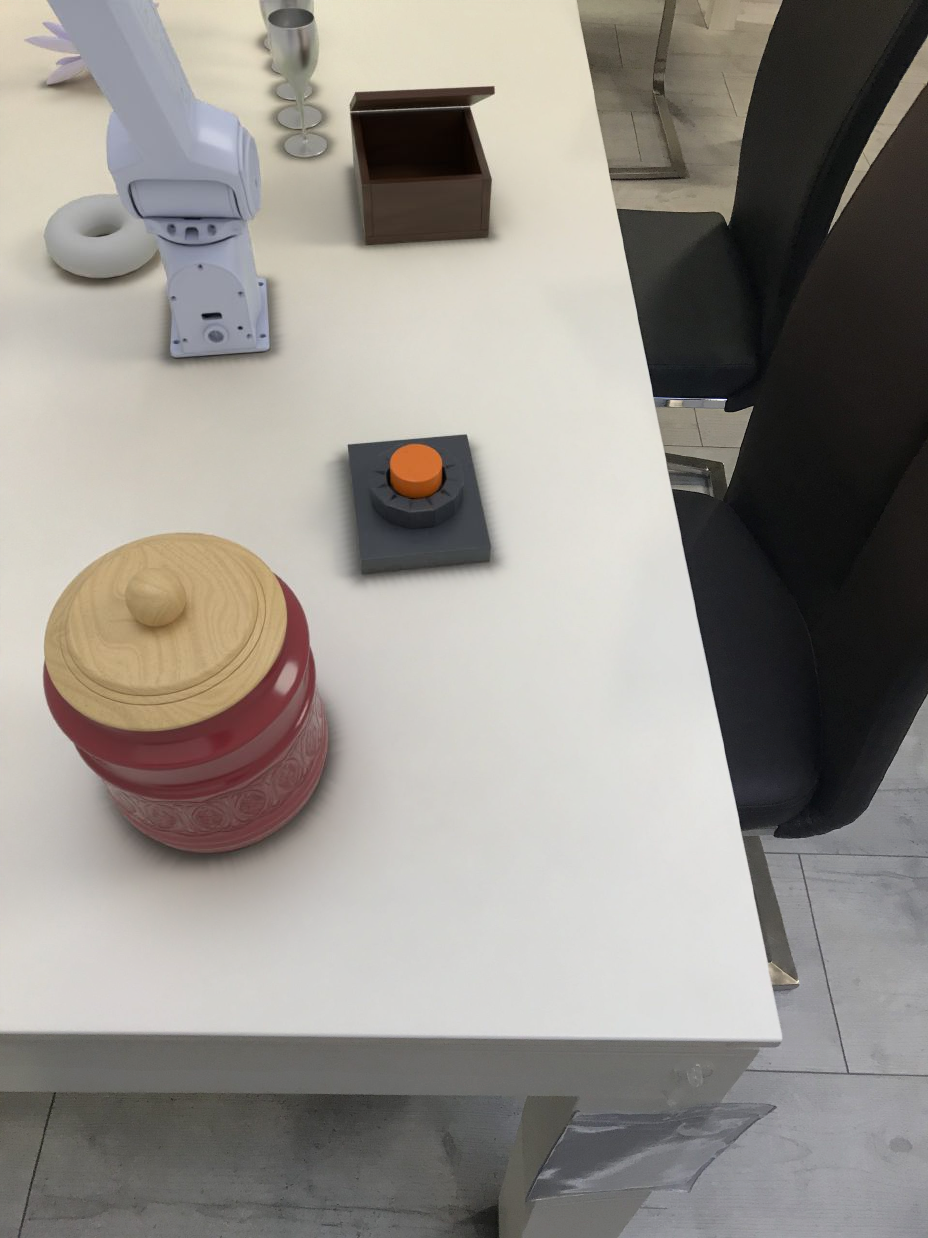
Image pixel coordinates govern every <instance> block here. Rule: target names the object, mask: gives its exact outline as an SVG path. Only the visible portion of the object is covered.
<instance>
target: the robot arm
mask: <svg viewBox="0 0 928 1238" xmlns="http://www.w3.org/2000/svg"><path fill="white" fill-rule="evenodd" d="M46 2H47V3H48V6H49V7H50V8H51V10H52V12H53V13H54V15H55V16H56V18H57V20H58V21H59V23H60V25H62V26H63V28H64V30H65V31H66V33H67V35H68V36H69V38H70V40H71V41H72V43H73V44H74V46H75V48H76V49H77V51H78V53H79V54H78V55H79V56H81V58H82V59H83V61H84V63H85V64H86V66H87V69H88V71H89V73H90V74H91V76H92V77H93V79H94V81H95V82H96V84H97V86H98V87H99V89H100V90H101V92H102V94H103V95H104V97H105V99H106V100H107V102H108V104H109V105H110V107H111V109H112V110H113V111H112V112H110V114H109V117H108V124H107V128H106V137H105V138H106V142H105V143H106V144H105V145H106V146H105V147H106V149H105V150H106V164H107V168H108V169H107V170H108V171H109V173H110V175H111V177H112V179H113V181H114V185H115V190H116V193H117V195H118V196H119V199H120V201H121V203H122V205H123V206H124V208H125V209H126V210H127V211H128V212H129V214H130V215H131V216H132V217H133V218H136V219H143V221H144V224H145V228H146V231H147V233H153V234H155V237H156V240H157V244H158V251H159V255H160V259H161V262H162V267H163V270H164V273H165V277H166V295H167V299H168V303H169V306H170V310H171V324H170V325H171V326H170V347H169V348H170V355H171V357H173V358H191V357H203V356H215V355H216V356H217V355H218V356H219V355H230V354H243V353H257V352H258V353H259V352H266V351H268V350H269V349H270V347H271V345H270V328H269V327H270V326H269V308H268V307H269V306H268V288H267V287H268V286H267V279H266V278H264V277H258V273H257V268H256V262H255V256H254V249H253V246H252V245H253V244H252V240H251V233H250V228H249V221H250V222H251V221H253V220H254V219H255V217H256V215H257V214H258V213H259V211H260V210H261V209H260V208H261V202H262V177H261V166H260V158H259V152H258V147H257V144H256V140H255V138H254V136H253V135H252V134H251V133H250V132H249V130H248V129H247V128H246V127H244V126H243V125H242V124H241V121H240V119H239V116H238V115H237V114H234V113H232V112H230V111H227V110H225V109H223V108H220V107H218V106H215V105H212V104H210V103H208V102H205V101H203V100H201V99H198V98H197V97H196V96H195V94H194V91H193V89H192V87H191V85H190V82H189V80H188V78H187V75H186V73H185V71H184V69H183V67H182V64H181V62H180V59H179V57H178V55H177V53H176V51H175V47H174V46H173V43H172V41H171V39H170V36H169V35H168V32H167V30H166V28H165V25H164V23H163V21H162V19H161V16H160V14H159V12H158V10H157V9H158V8H157V9H156V7H155V5H154V3H155V2H154V0H46Z"/></svg>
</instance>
